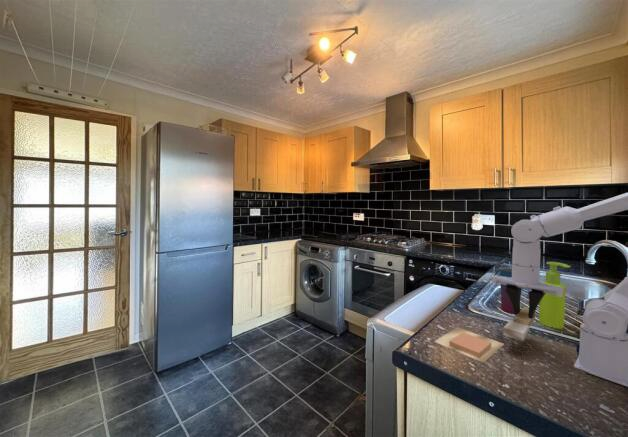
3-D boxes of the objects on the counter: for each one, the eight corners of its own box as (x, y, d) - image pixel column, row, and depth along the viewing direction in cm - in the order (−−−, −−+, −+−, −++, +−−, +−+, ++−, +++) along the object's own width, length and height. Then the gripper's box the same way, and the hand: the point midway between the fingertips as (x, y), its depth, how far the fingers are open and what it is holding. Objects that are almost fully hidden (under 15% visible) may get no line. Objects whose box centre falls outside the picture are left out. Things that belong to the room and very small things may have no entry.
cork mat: (504, 345, 69) (504, 343, 69) (483, 364, 60) (483, 362, 60) (457, 328, 78) (457, 327, 78) (433, 343, 70) (433, 341, 70)
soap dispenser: (559, 331, 77) (562, 265, 76) (534, 321, 83) (536, 260, 83) (572, 329, 78) (575, 264, 78) (547, 319, 85) (549, 259, 84)
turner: (538, 320, 70) (539, 310, 70) (523, 341, 62) (523, 329, 61) (520, 315, 73) (520, 305, 73) (503, 334, 65) (503, 323, 65)
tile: (491, 342, 67) (478, 352, 62) (491, 347, 67) (478, 357, 62) (462, 332, 72) (449, 341, 68) (462, 336, 73) (449, 345, 68)
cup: (527, 314, 89) (528, 272, 88) (507, 314, 89) (508, 271, 88) (512, 307, 96) (513, 267, 95) (494, 307, 96) (495, 267, 95)
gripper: (488, 262, 71) (487, 310, 72) (559, 272, 60) (557, 330, 60) (497, 259, 75) (496, 304, 76) (566, 268, 64) (563, 322, 64)
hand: (523, 315), depth 68 cm, fingers closed on turner, 2 cm apart
